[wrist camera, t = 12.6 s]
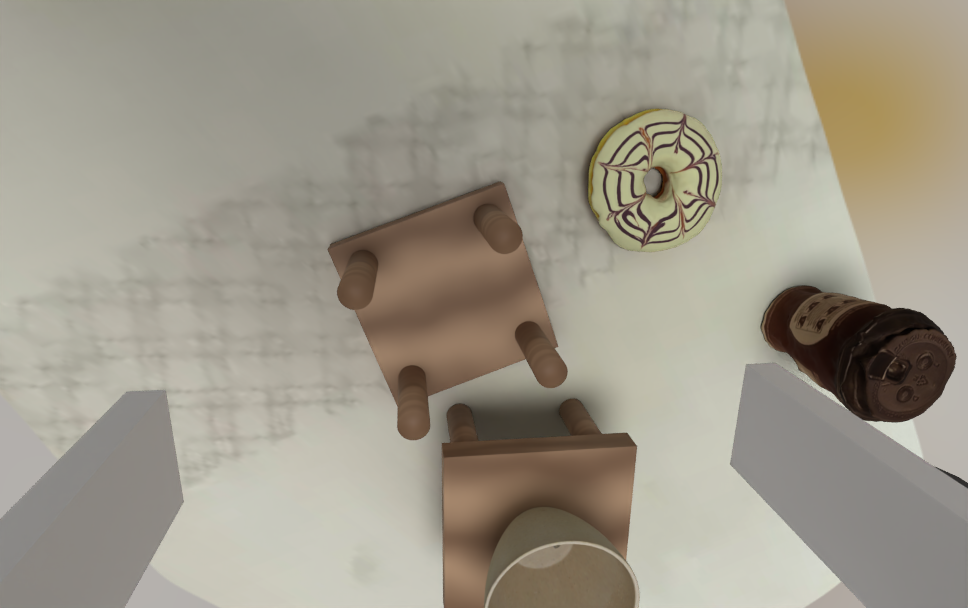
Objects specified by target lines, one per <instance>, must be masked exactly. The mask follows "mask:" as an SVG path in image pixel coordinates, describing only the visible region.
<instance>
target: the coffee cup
mask: <svg viewBox="0 0 968 608" xmlns="http://www.w3.org/2000/svg"><path fill="white" fill-rule="evenodd" d="M761 329H762V332H763V334H764V337H765V338H764V339H765V341H766V342H768V344H769V346H770V347H772V348H774V349H775V350H777V351H780V352H786V353H788V354H789V355H790V356H791V357H792V358H793V359H794V361H795V362H796V364H797V366H798V369H799V370H800V371H801V372H803V373H805V374H807V375H808V376H809V377H810V378H811V379H812V380H813V381H814V382H815V383H817V384H818V385H819V386H820V387H822V388H824V389H826V390H828V391H830V392H832V393H833V394H834V395H835V396H836V398H837V399H838V400H839V401H840V402H841V403H842V404H843V405H844V406H845V407H846V408H847V409H848V410H849V411H851V412H852V413H853V414H854V415H856V416H857V417H859V418H860V419H862V420H865V421H875V422H878V421H883V422H903V421H908V420H910V419H912V418H915V417H916V416H919V415H921V414H922V413H924V412H925V411H926V410H927V409H928V408H929V407H930V406H931V405H932V404H933V403H934V402H935V401H936V400H937V399H938V398H939V397H940V396H941V395H942V392H943V390H944V388H945V385H946V383H947V381H948V379H949V378H950V376H951V374H952V372H953V370H954V368H955V366H954V365H955V360H956V354H955V352H954V347H953V346H952V344H951V342H950V341H948V338H947V336H946V335H944V333H943V331H942V330H941V329H940V328H939V327H938V326H937V325H936V324H935V323H934V322H933V321H932V320H930V319H929V318H928V317H927V316H926V315H924V314H923V313H921V312H917V311H914V310H911V309H905V308H896V309H891V308H890V307H888V306H887V305H884V304H879V303H875V302H871V301H866V300H862V299H858V298H856V297H852V296H847V295H843V294H839V293H823V292H822V291H820V290H819V289H817V288H816V287H812V286H798V287H793V288H790V289H788V290H786V291H784V292H783V293H782V294H780V295H779V296H778V297H777V298H776V299H775V300H774V301H773V302H772V304H771V305H770V307H769V308H768V310H767V311H766V313H765V315H764V320H763V323H762V326H761Z"/></svg>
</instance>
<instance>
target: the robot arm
mask: <svg viewBox="0 0 968 608" xmlns="http://www.w3.org/2000/svg"><path fill="white" fill-rule="evenodd" d="M730 465H731V466H732V467H733V468H734V469H735V470H736V471H737V472H738V473H739V474H740V475H741V476H742V477H743V478H744V479H745V480H746V482H747V483H748V484H749V485H750V486H751V487H752V488H753V489H754V490H755V491H756V492H757V493H758V494H759V495H760V496H761V497H762V498H763V499H764V500H765V501H766V503H767V504H768V505H769V506H770V507H771V508H772V509H773V510H774V511H775V512H776V513H777V514H778V515H779V516H780V517H781V518H782V519H783V520H784V521H785V523H786V524H787V525H788V526H789V527H790V528H791V529H792V530H793V531H794V532H795V533H796V534H797V535H798V536H799V537H800V538H801V539H802V540H803V541H804V542H805V544H806V545H807V546H808V547H809V548H810V549H811V550H812V551H813V552H814V553H815V554H816V555H817V556H818V557H819V558H820V559H821V560H822V561H823V562H824V563H825V565H826V566H827V567H828V568H829V569H830V570H831V571H832V572H833V573H834V574H835V575H836V576H837V577H838V578H839V579H840V580H841V581H842V582H843V583H844V584H845V585H846V587H847V588H848V589H849V590H850V591H851V592H852V593H853V594H854V595H855V596H856V597H857V598H858V599H859V600H860V601H861V602H862V603H863V604H864V605H865V606H866V608H968V483H967V482H965V481H964V480H962V479H961V478H959V477H957V476H955V475H953V474H950V473H948V472H946V471H943V470H941V469H939V468H937V467H934V466H932V465H931V464H929V463H928V462H926V461H925V460H923V459H922V458H920V457H919V456H917V455H916V454H914V453H912V452H911V451H909V450H908V449H906V448H905V447H903V446H902V445H900V444H899V443H897V442H896V441H894V440H893V439H891V438H890V437H888V436H886V435H885V434H883V433H882V432H880V431H879V430H877V429H876V428H874V427H873V426H871V425H870V424H868V423H867V422H865V421H864V420H862V419H860V418H859V417H857V416H856V415H854V414H853V413H851V412H850V411H848V410H847V409H845V408H844V407H842V406H841V405H839V404H838V403H836V402H834V401H833V400H831V399H830V398H828V397H827V396H825V395H824V394H822V393H821V392H819V391H818V390H816V389H815V388H813V387H812V386H810V385H808V384H807V383H805V382H804V381H802V380H801V379H799V378H798V377H796V376H795V375H793V374H792V373H790V372H789V371H787V370H786V369H784V368H782V367H781V366H779V365H778V364H776V363H763V364H746V368H745V374H744V380H743V387H742V393H741V399H740V405H739V412H738V418H737V424H736V430H735V437H734V443H733V449H732V455H731V462H730ZM183 502H184V500H183V494H182V488H181V482H180V475H179V469H178V463H177V457H176V451H175V445H174V439H173V432H172V426H171V420H170V414H169V408H168V402H167V395H166V390H153V391H131V392H126V393H125V394H124V395H123V396H122V397H121V398H120V399H119V400H118V401H117V402H116V403H115V404H114V405H113V406H112V407H111V408H110V409H109V410H108V411H107V412H106V413H105V414H104V415H103V416H102V417H101V418H100V419H99V420H98V421H97V422H96V423H95V424H94V425H93V426H92V427H91V428H90V429H89V430H88V431H87V432H86V433H85V434H84V435H83V436H82V437H81V438H80V439H79V440H78V441H77V442H76V443H75V444H74V445H73V446H72V447H71V448H70V449H69V450H68V451H67V452H66V453H65V454H64V455H63V456H62V457H61V458H60V459H59V460H58V461H57V462H56V463H55V464H54V466H52V468H51V469H49V471H48V472H47V473H46V474H45V475H44V476H43V477H42V478H41V479H40V480H39V481H38V482H37V483H36V484H35V485H34V486H33V487H32V488H31V489H30V490H29V491H28V492H27V493H26V494H25V495H24V496H23V497H22V498H21V499H20V500H19V501H18V502H17V503H16V504H15V505H14V506H13V507H12V508H11V509H10V510H9V511H8V512H7V513H6V514H5V515H4V516H3V517H2V518H1V519H0V608H125V606H126V604H127V602H128V600H129V598H130V597H131V595H132V593H133V591H134V590H135V588H136V586H137V584H138V583H139V581H140V579H141V577H142V575H143V573H144V572H145V570H146V568H147V566H148V565H149V563H150V561H151V559H152V558H153V556H154V554H155V552H156V550H157V549H158V547H159V545H160V543H161V541H162V540H163V538H164V536H165V534H166V533H167V531H168V529H169V527H170V525H171V524H172V522H173V520H174V518H175V516H176V515H177V513H178V511H179V509H180V507H181V506H182V504H183Z"/></svg>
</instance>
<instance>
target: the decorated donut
mask: <svg viewBox="0 0 968 608" xmlns="http://www.w3.org/2000/svg"><path fill="white" fill-rule="evenodd" d="M651 168H655V169H658V170H659V171H660V173H661V174H662V176H663V186H662V190H661V192H659V194H658V195H657V196H655V197H652V196H651V195H649V194H646V187H645V184H644V182H643V179H644V176H645V175H646V174H647V173H648V171H649V170H650V169H651ZM721 185H722V164H721V159H720V154H719V151H718V149H717V147H716V145H715V142H714V140H713V138H712V136H711V134H710V133H709V132H708V130H706V128H705V126H704V125H703V124H702V123H701V122H700V121H698V120H697V119H695V118H693V117H690V116H688V115H685V114H683V113H681V112H678V111H672V110H669V109H650V110H645V111H642V112H640V113H637V114H635V115H633V116H632V117H629V118H627V119H624V120H623V121H622V122H620V123H619V124H617V125H616V126H614V127H613V128H611V129H610V130H609V131H608V132H607V134H606V135H605V136H604V137H603V138H602V140H601V141H600V143H599V146H598V148H597V150H596V152H595V154H594V156H593V157H592V159H591V164H590V167H589V184H588V200H589V204H590V206H591V209H592V211H593V212H594V214H595V215H596V218H597V219H598V221H599V225H600V226H601V227H602V228H604V229H605V230H606V231H607V232H608V234H609V235H610V237H611V238H612V240H613V241H614V243H616V244H617V245H618V246H620V247H621V248H624V249H627V250H630V251H642V252H656V251H662V250H667V249H670V248H674V247H677V246H679V245H681V244H683V243H685V242H687V241H689V240H690V239H692V238H693V237H695V236H696V235H698V234H699V233H700V232H701V231H702V230H703V228H704V227H705V225H706V224H707V222H708V221H709V219H710V217H711V215H712V212H713V210H714V208H715V205H716V202H717V200H718V198H719V195H720V191H721Z"/></svg>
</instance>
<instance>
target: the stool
mask: <svg viewBox="0 0 968 608" xmlns="http://www.w3.org/2000/svg"><path fill="white" fill-rule="evenodd" d="M559 413H560V416H561V418H562V420H563V421H564V423H565V425H566V427H567V429H568V431H569V432H570V434H571V436H559V437H541V438H523V439H505V440H487V441H478V437H477V433H476V429H475V425H474V421H473V416H472V412H471V410H470V408H469V407H468V406H466V405H464V404H456V405H453V406H452V407H451V408H450V409H449V410H448V412H447V423H448V430H449V436H450V443H442V522H443V603H444V608H484V596H485V586H486V580H487V574H488V570H489V566H490V562H491V559H492V556H493V554H494V551H495V549H496V546H497V544H498V542H499V540H500V538H501V536H502V535H503V533H504V532H505V530H506V529H507V527H508V526H509V525H510V523H511V522H512V521H513V520H514V519H515V518H516V517H517V516H518V515H520V514H521V513H523V512H525V511H527V510H529V509H532V508H535V507H552V508H557V509H561V510H563V511H566V512H569V513H571V514H573V515H575V516H577V517H579V518H581V519H582V520H584V521H586V522H587V523H589V524H590V525H591V526H593V527H594V528H595V529H597V530H598V531H599V532H600V533H601V534H603V535H604V536H605V537H606V538H607V539H608V540H609V541H610V542H611V543H612V544H613V545H614V546H615V547H616V549H617V550H618V551H619V552H620V553H621V555H622V556H623V557H624V559H625V560H626V555H627V544H628V534H629V524H630V513H631V503H632V493H633V482H634V472H635V462H636V451H637V446H636V444H635V443H634V441H633V440H632V439H631V437H630V436H629V435H628V433H612V434H601V432H600V431H599V429H598V428H597V426H596V425H595V423H594V421H593V420H592V418H591V417H590V415H589V414H588V412H587V411H586V409H585V408H584V406H583V404H582V403H581V402H580V401H579V400H577V399H567V400H565V401H564V402H563V403H562V404H561V406H560V408H559Z"/></svg>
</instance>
